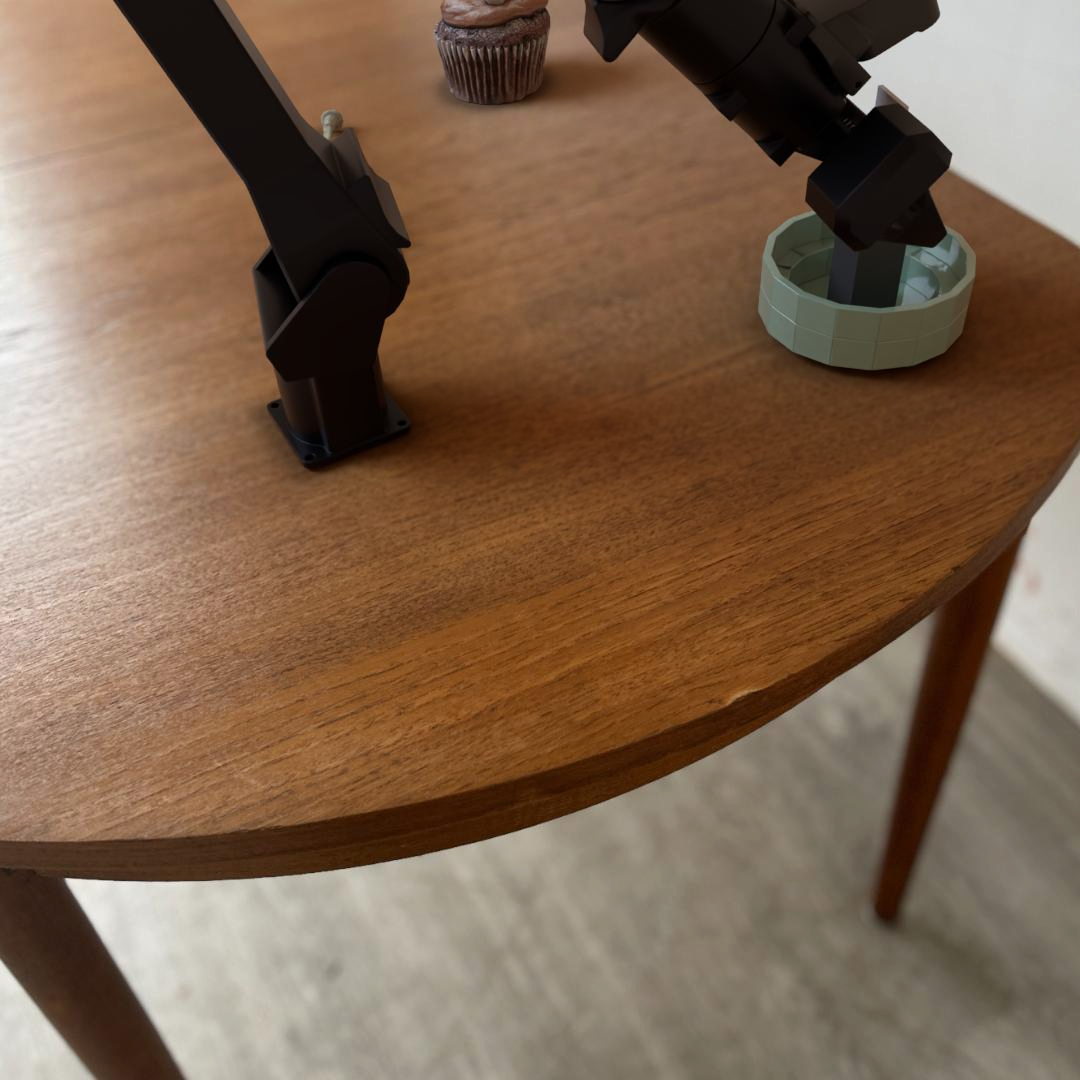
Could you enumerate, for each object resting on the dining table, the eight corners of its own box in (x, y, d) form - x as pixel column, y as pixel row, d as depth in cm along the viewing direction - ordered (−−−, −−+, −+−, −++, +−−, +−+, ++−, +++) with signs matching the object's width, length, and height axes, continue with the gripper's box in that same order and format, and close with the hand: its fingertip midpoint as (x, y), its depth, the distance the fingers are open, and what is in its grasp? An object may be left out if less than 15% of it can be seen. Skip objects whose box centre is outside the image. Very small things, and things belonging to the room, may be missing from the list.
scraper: (847, 329, 71) (880, 111, 62) (825, 303, 73) (854, 88, 64) (893, 320, 72) (933, 102, 62) (870, 294, 74) (906, 80, 64)
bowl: (1003, 335, 71) (1021, 269, 68) (844, 402, 67) (855, 335, 64) (869, 249, 79) (879, 186, 76) (720, 305, 75) (724, 240, 72)
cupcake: (485, 53, 106) (475, -68, 99) (575, 75, 101) (571, -50, 94) (415, 93, 100) (400, -32, 93) (507, 118, 96) (498, -11, 89)
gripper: (951, -48, 49) (1115, 162, 58) (772, -159, 62) (929, 26, 71) (756, 164, 53) (938, 328, 62) (627, 18, 66) (793, 171, 76)
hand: (899, 201), depth 68 cm, fingers open, 9 cm apart
